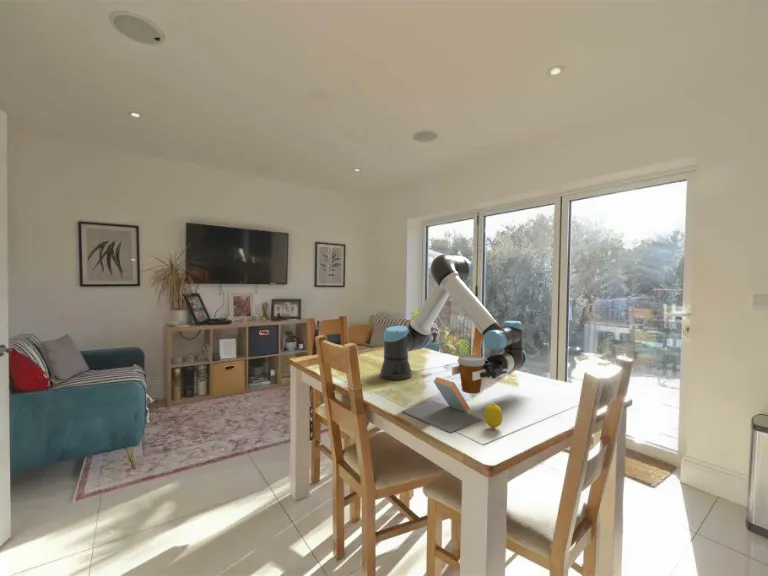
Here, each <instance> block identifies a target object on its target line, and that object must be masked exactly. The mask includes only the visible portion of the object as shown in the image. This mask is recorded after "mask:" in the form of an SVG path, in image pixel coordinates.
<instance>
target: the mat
mask: <svg viewBox="0 0 768 576" xmlns="http://www.w3.org/2000/svg"><path fill="white" fill-rule="evenodd" d="M402 413H404V414H406V415H409V416H411V417H413V418H415V419H418V420H420V421H422V422H424V423H426V424H429V425H431V426H433V427H435V428H437V429H440V430H442V431H444V432H447V433H449V434H452V433H455V432H457V431H460V430H462V429H465V428H467V427H469V426H471V425H474V424H477V423H479V422H481V421H483V418H482V417H479V416H476V415H473V414H470V413H469V412H468V413H465V412H462V411H460V410H457V409H454V408H452V407H449V405H446V404H443V403H440V402H438V401H435V400H432V401H430V402H425V403H422V404H420V405H416V406H414V407H410V408H407V409H404V410H402Z"/></svg>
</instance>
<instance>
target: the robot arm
mask: <svg viewBox="0 0 768 576" xmlns="http://www.w3.org/2000/svg"><path fill="white" fill-rule="evenodd" d="M430 264H431V265H430V274H431V275H432V278H433V281H435V283H434V285H433V287H432V289H431V291H430V292H429V294H428V295H427V298H426V300H424V302H423V305H422V306H421V308H420V310H418V311H419V312H418V313H417V315H416V316H415V319H413V318H412V319H411V320H410V321H409V323H408V325H407V326H405V325H396V326H389V327H387V328H385V329H384V333H383V362H382V365H381V369H380V371H379V374H380V375H379V376H380V377H381V378H382V379H386V380H388V381H403V380H409V379H410V378H412V376H413V373H412V372H413V371H412V369H411V365H410V361H409V352H413V351H417V350H422V349H423V348H425V347H427V346H428V345H429V344H430V341H431V333H432V330H431V327H432V325H433V324H434V322H435V320H436V319H437V317H438V316H439V313H441V310H442V309H443V307H444V305H445V304H446V302H447V300H448V299H449V297H451V298H452V299H453V300H454V302H455V304H456V305H457V306H458V308H460V309H461V310H462V312H463V313H464V314H465V316H466V317H467V318H468V319H469V320H470V322H471V323H472V324H473V325H474V326H475V327H476V329H477V330H478V331H479V333H481V335H482V336H483V344H484V345H485V347H486V348H487V349H489V351H490V350H491V351H500V350H502V352H499V353H495V354H491V355H489V356H488V357H487V359H484V361H485V363H484V365H483V370H479V371H475V372H472V380H473V381H475V380H478V379H481V378H482V379H484V378H490V377H491V378H492V379H496V378H498V377H499V376H501V375H504V374H507V372H510V371H515V370H518V369H521V368H522V367H524V366H526V365H527V364H528V361H529V357H528V356H529V355H527V353H526V351H525V350H524V348H523V347H524V346H523V342H524V341H523V339H524V338H523V337H524V336H523V334H524V333H523V332H524V330H523V323H522V321H519V320H505V321H503V322H502V326H501V325H500V324H499V323H498V321H496V319H495V317H494V316H492V315H491V313H490V312H489V311H488V310H487V308H486V307H485V306H484V305H483V304H482V302H481V301H479V299H478V298H477V296H476V295H474V294H473V292H472V291H471V289H469V287H467V285H466V284H465V283H464V281H466V280H468V279H469V278H470V276H471V274H472V265H471V261H469V259H468V258H466V257H465V256H461V255H460V254H455V255H453V254H440V255H438V256H436V257H435V258H434V259H433V260H432V261H431V263H430ZM458 374H459V375H460V369H459V364H458V365H456V366H455V365H454V366H452V367H451V376H455V375H458Z"/></svg>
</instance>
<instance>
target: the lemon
mask: <svg viewBox="0 0 768 576" xmlns="http://www.w3.org/2000/svg"><path fill="white" fill-rule="evenodd" d="M483 416H484V417H483V418H484V422H485V423H486V425H487V426H488V427H490V428H491V429H492V430H494V429H496V428H499V427H500V426H501V424H502V423H503V419H504V418H503V411H502V409H501V407H500V406H499V405H497V404H496V403H494V402H493V403H491V404H488V405H487V406H486V407H485V409H484V413H483Z"/></svg>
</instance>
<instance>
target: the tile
mask: <svg viewBox="0 0 768 576" xmlns="http://www.w3.org/2000/svg"><path fill="white" fill-rule="evenodd" d="M433 384H435V386H436V388H437V390H438V391H439V393H440V394H441V396H442V398H443V399H444V401H445V402H446V403H447V406H449V407H452V408H454V409H457V410H460V411H462V412H465V413H468V414H469V412H470V410H471V407H470V406H469V404H468V403H467V401H466V399H465V398H464V396H463V394H462V393H461V391H460V389H459V388H458V386H457V384H456V383H455V382H454V381H452V380H448V379H445V378H441V377H439V376H438V377H435V378H434V379H433Z"/></svg>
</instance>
